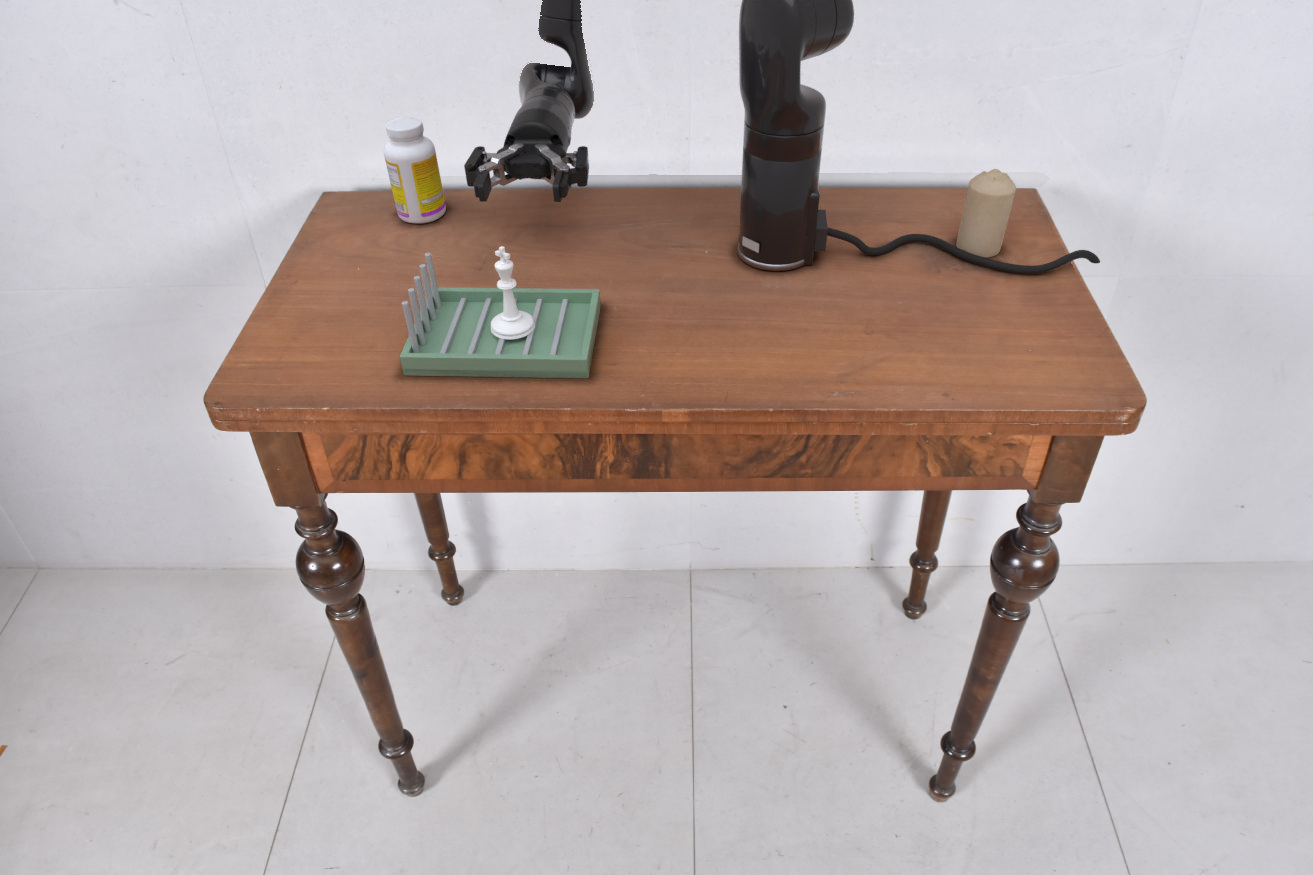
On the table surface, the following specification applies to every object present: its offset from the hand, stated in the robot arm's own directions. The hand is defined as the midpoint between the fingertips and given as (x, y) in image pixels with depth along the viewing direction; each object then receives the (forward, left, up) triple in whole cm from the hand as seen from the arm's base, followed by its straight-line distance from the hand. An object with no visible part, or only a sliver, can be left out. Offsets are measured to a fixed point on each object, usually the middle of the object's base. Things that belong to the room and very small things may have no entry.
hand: (519, 194), depth 104 cm
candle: (-56, -11, -13) cm, 58 cm away
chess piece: (0, +11, -11) cm, 15 cm away
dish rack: (+1, +11, -13) cm, 17 cm away
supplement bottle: (+18, -19, -13) cm, 29 cm away
